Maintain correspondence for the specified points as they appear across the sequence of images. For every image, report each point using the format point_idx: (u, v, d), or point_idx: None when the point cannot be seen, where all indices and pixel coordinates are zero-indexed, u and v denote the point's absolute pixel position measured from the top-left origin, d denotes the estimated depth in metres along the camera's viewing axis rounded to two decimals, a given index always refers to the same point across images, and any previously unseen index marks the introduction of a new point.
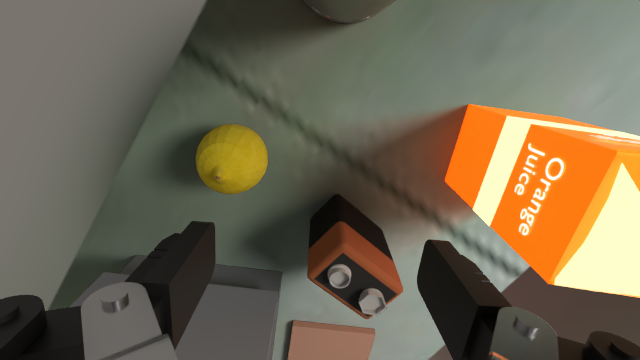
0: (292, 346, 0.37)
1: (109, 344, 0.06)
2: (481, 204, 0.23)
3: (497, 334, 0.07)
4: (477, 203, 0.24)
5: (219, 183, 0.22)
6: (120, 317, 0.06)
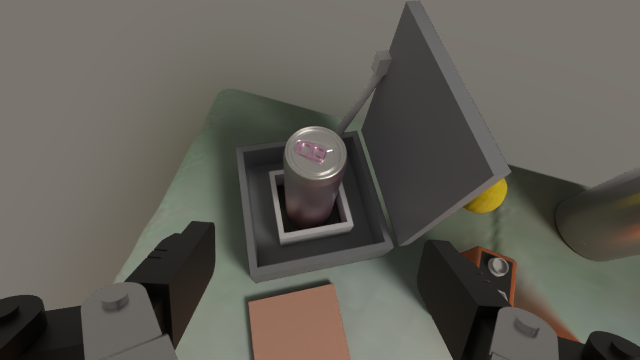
0: (305, 292, 0.35)
1: (109, 344, 0.06)
2: None
3: (497, 334, 0.07)
4: None
5: None
6: (120, 317, 0.06)
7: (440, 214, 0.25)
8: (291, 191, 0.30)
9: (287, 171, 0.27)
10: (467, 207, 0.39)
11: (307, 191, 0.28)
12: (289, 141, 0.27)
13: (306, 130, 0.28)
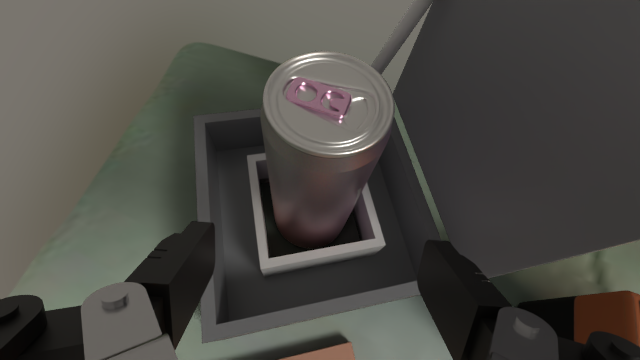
0: (304, 359, 0.21)
1: (109, 344, 0.06)
2: None
3: (497, 334, 0.07)
4: None
5: None
6: (120, 317, 0.06)
7: (633, 239, 0.10)
8: (279, 184, 0.16)
9: (268, 140, 0.13)
10: None
11: (309, 183, 0.14)
12: (273, 77, 0.13)
13: (309, 59, 0.14)
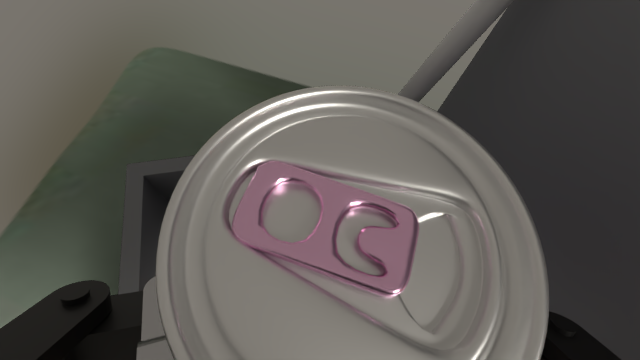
0: None
1: None
2: None
3: None
4: None
5: None
6: None
7: None
8: None
9: None
10: None
11: None
12: (199, 166, 0.05)
13: (301, 106, 0.05)
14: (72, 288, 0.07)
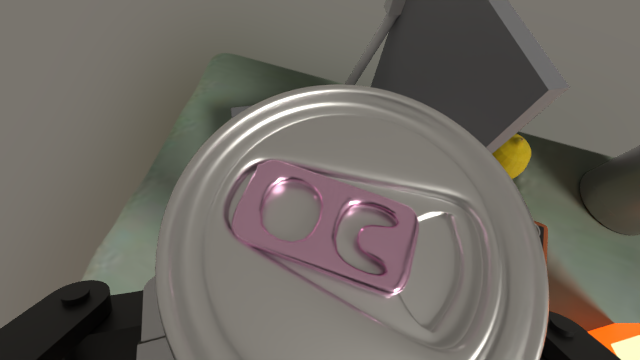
0: None
1: None
2: (629, 342, 0.25)
3: None
4: (620, 342, 0.26)
5: (511, 143, 0.33)
6: None
7: None
8: None
9: None
10: None
11: None
12: (199, 165, 0.05)
13: (300, 105, 0.05)
14: (72, 288, 0.07)
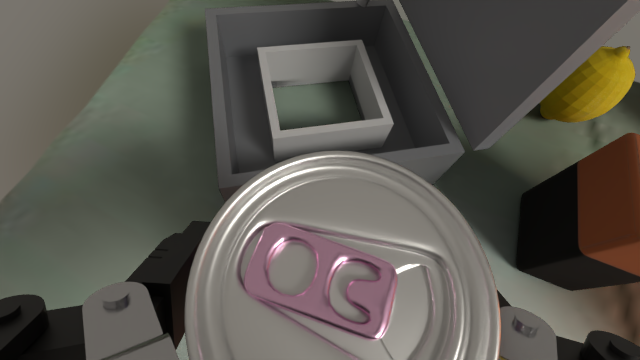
0: None
1: (111, 343, 0.06)
2: None
3: None
4: None
5: (609, 55, 0.23)
6: (121, 317, 0.06)
7: None
8: None
9: None
10: (564, 110, 0.25)
11: None
12: (216, 230, 0.06)
13: (300, 170, 0.06)
14: None
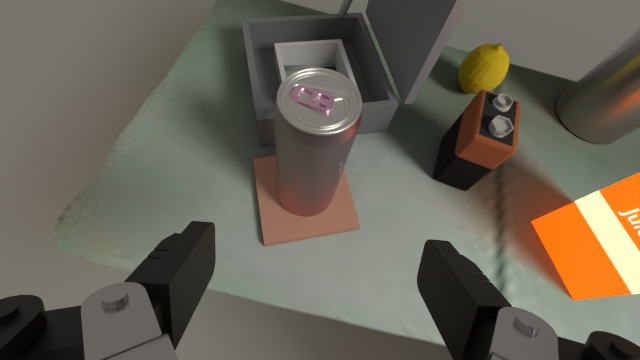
0: None
1: (109, 344, 0.06)
2: None
3: (497, 334, 0.07)
4: None
5: (491, 49, 0.37)
6: (120, 317, 0.06)
7: (448, 16, 0.25)
8: (285, 159, 0.22)
9: (280, 126, 0.20)
10: (470, 84, 0.39)
11: (306, 155, 0.20)
12: (283, 85, 0.20)
13: (306, 72, 0.21)
14: None
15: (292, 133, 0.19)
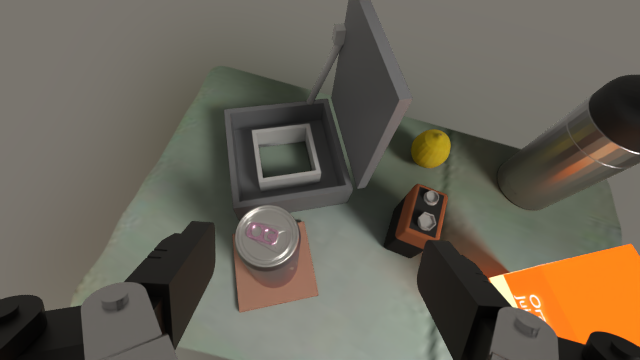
0: None
1: (109, 344, 0.06)
2: None
3: (497, 334, 0.07)
4: None
5: (433, 137, 0.44)
6: (120, 317, 0.06)
7: (377, 146, 0.32)
8: None
9: (238, 254, 0.27)
10: (419, 162, 0.46)
11: (259, 272, 0.27)
12: (240, 223, 0.27)
13: (259, 210, 0.28)
14: None
15: (246, 262, 0.26)
